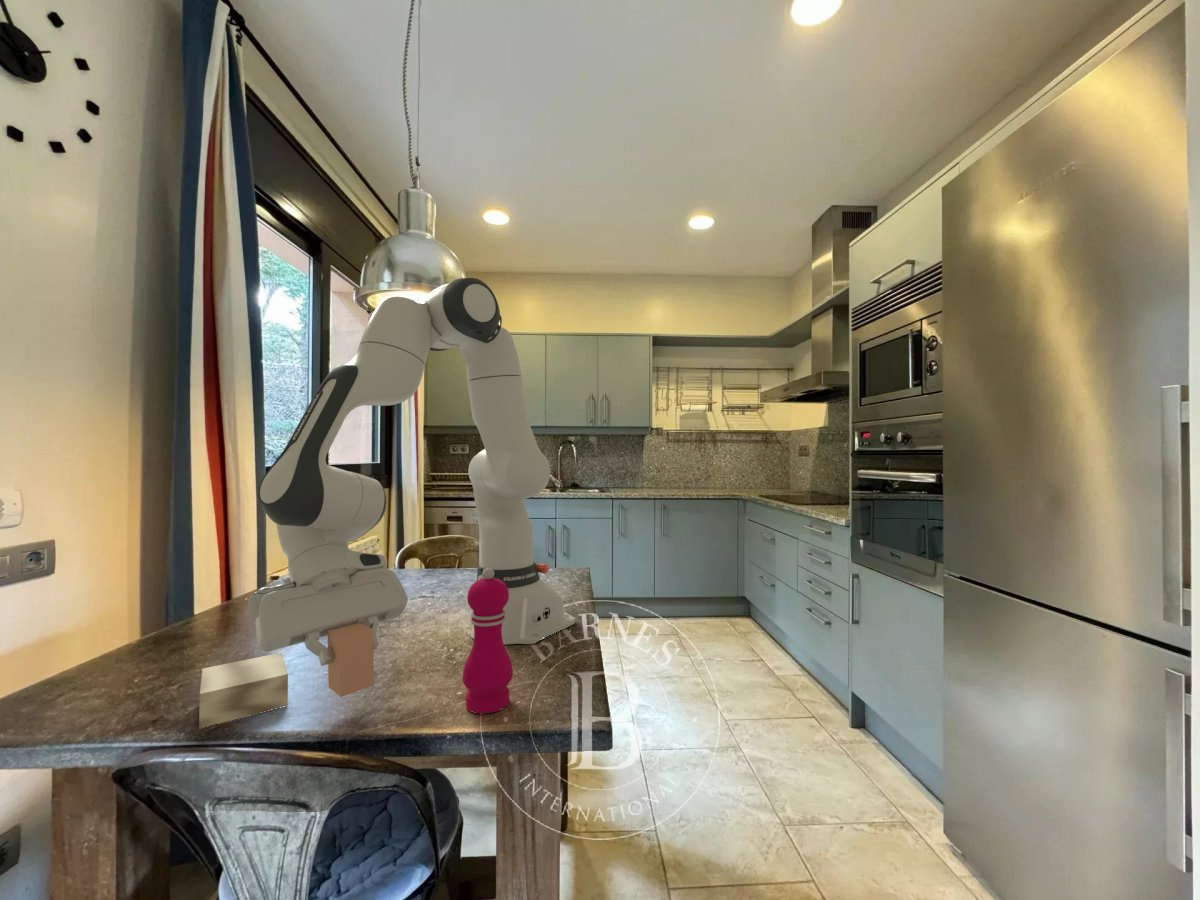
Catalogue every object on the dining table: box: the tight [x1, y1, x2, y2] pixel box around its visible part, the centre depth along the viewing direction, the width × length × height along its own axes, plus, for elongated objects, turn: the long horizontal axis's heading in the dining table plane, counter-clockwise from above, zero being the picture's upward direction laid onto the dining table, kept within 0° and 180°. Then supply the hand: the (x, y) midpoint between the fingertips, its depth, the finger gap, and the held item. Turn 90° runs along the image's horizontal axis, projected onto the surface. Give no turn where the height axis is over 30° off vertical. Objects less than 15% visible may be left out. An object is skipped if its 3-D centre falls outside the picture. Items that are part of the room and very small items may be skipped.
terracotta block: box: [327, 623, 375, 698], centre depth 70 cm, size 4×4×8 cm
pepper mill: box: [461, 568, 514, 714], centre depth 72 cm, size 7×7×20 cm
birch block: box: [198, 652, 289, 730], centre depth 72 cm, size 10×10×5 cm
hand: (351, 655), depth 70 cm, fingers closed on terracotta block, 4 cm apart
